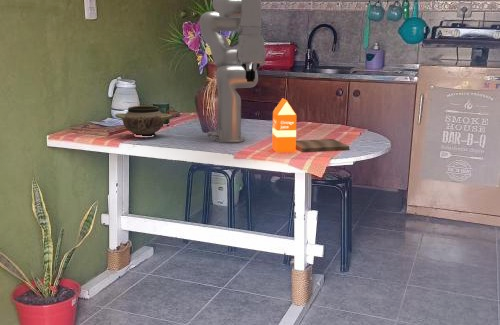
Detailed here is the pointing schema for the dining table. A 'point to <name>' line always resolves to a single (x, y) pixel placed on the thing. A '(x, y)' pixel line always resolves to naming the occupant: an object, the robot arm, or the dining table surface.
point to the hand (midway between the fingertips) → (250, 81)
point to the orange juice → (284, 128)
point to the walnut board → (320, 145)
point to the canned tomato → (163, 109)
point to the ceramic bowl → (143, 119)
